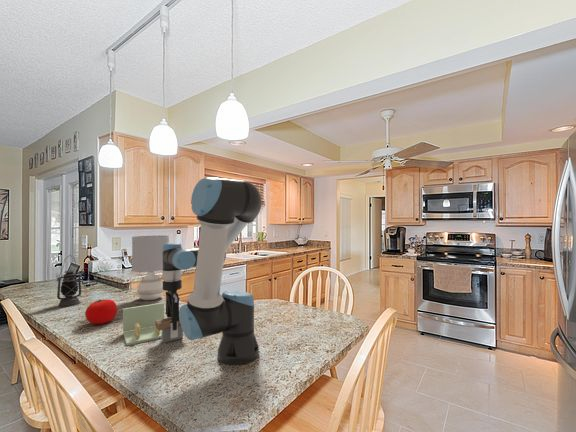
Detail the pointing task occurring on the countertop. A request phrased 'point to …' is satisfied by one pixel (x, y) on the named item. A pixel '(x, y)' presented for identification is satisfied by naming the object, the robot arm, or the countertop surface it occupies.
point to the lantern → (69, 288)
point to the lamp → (149, 264)
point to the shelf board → (164, 324)
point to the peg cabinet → (142, 323)
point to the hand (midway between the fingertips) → (172, 334)
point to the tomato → (101, 311)
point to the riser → (167, 335)
